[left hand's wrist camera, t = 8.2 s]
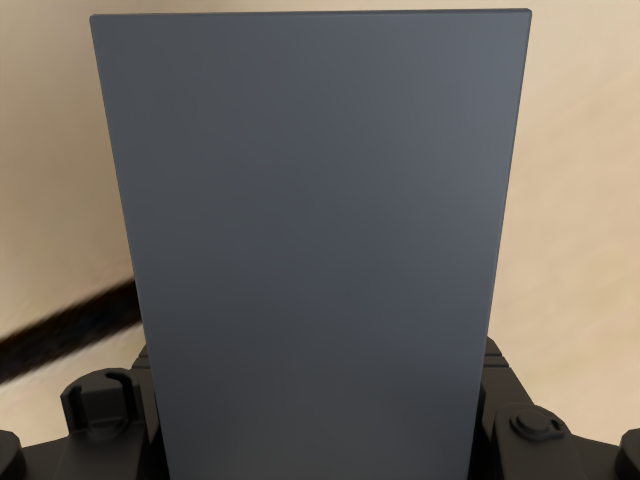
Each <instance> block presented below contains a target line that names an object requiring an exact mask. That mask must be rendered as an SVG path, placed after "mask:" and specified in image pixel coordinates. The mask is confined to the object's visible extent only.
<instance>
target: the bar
mask: <svg viewBox="0 0 640 480" xmlns="http://www.w3.org/2000/svg"><path fill="white" fill-rule="evenodd" d="M531 18H532V11H531V10H530V9H527V8H510V9H439V10H367V11H295V12H224V13H152V14H94V15H92V16H90V20H89V21H90V26H91V32H92V38H93V43H94V49H95V55H96V60H97V66H98V72H99V77H100V83H101V89H102V94H103V100H104V106H105V112H106V117H107V123H108V129H109V134H110V140H111V146H112V151H113V157H114V163H115V168H116V174H117V180H118V185H119V191H120V197H121V203H122V208H123V214H124V220H125V225H126V231H127V237H128V242H129V248H130V254H131V259H132V265H133V271H134V276H135V282H136V288H137V294H138V299H139V305H140V311H141V316H142V322H143V328H144V333H145V339H146V345H147V350H148V356H149V362H150V367H151V373H152V379H153V385H154V390H155V396H156V402H157V407H158V413H159V419H160V424H161V430H162V436H163V441H164V447H165V453H166V458H167V464H168V470H169V476H170V480H467V476H468V469H469V462H470V455H471V448H472V441H473V433H474V426H475V419H476V412H477V405H478V398H479V391H480V383H481V376H482V369H483V362H484V355H485V348H486V340H487V333H488V326H489V319H490V312H491V305H492V297H493V290H494V283H495V276H496V269H497V262H498V254H499V247H500V240H501V233H502V226H503V219H504V211H505V204H506V197H507V190H508V183H509V176H510V168H511V161H512V154H513V147H514V140H515V133H516V125H517V118H518V111H519V104H520V97H521V90H522V82H523V75H524V68H525V61H526V54H527V47H528V40H529V32H530V25H531Z"/></svg>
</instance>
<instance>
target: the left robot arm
mask: <svg viewBox="0 0 640 480" xmlns="http://www.w3.org/2000/svg"><path fill="white" fill-rule="evenodd" d="M60 398H61V402H62V406H63V410H64V414H65V418H66V422H67V426H68V430H69V435H68V436H67V437H64V438H61V439H57V440H54V441H50V442H45V443H41V444H37V445H33V446H28V447H24V448H22V447H21V443H20V440H19V438H18V437H17V436H16V435H15V434H14V433H13V432H10V431H4V430H0V480H170V476H169V470H168V464H167V458H166V453H165V447H164V441H163V436H162V430H161V424H160V419H159V413H158V407H157V402H156V396H155V390H154V385H153V379H152V373H151V367H150V362H149V356H148V350H147V345H145V346H144V348H143V349H142V351H141V352H140V354H139V357H138V358H137V359H136V360H135V362H134V363H133V365H132V369H130V370H127V369H124V368H106V369H102V370H98V371H94V372H91V373H89V374H87V375H84V376H82V377H80V378H78V379H77V380H75V381H74V382H73V383H71V384H70V385H69V386H67V387H66V389H65V390H64V391H63V393H62V394H61V395H60ZM467 480H640V428H638V429H632V430H628V431H627V432H626V433H625V434H624V435H623V436H622V438H621V442H620V445H619V446H616V445H612V444H607V443H603V442H599V441H594V440H590V439H586V438H582V437H579V436H576V435H573V434H571V432H570V430H569V429H568V427H567V426H566V424H565V423H564V422H563V421H562V420H561V419H560V418H559V417H557V416H556V415H555V414H554V413H552V412H550V411H548V410H546V409H544V408H542V407H540V406H537V405H534V403H533V402H532V400H531V398H530V397H529V395H528V394H527V392H526V391H525V389H524V388H523V386H522V384H521V383H520V381H519V380H518V378H517V377H516V375H515V373H514V372H513V370H512V369H511V368H509V364H508V362H507V361H506V359H505V358H504V357H502V353H501V352H500V350H499V348H498V347H497V345H496V344H495V342H494V341H493V340H492V339H490V338H489V337H488V336H487V340H486V348H485V355H484V362H483V369H482V376H481V383H480V391H479V398H478V405H477V412H476V419H475V426H474V433H473V441H472V448H471V455H470V462H469V469H468V476H467Z"/></svg>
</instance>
